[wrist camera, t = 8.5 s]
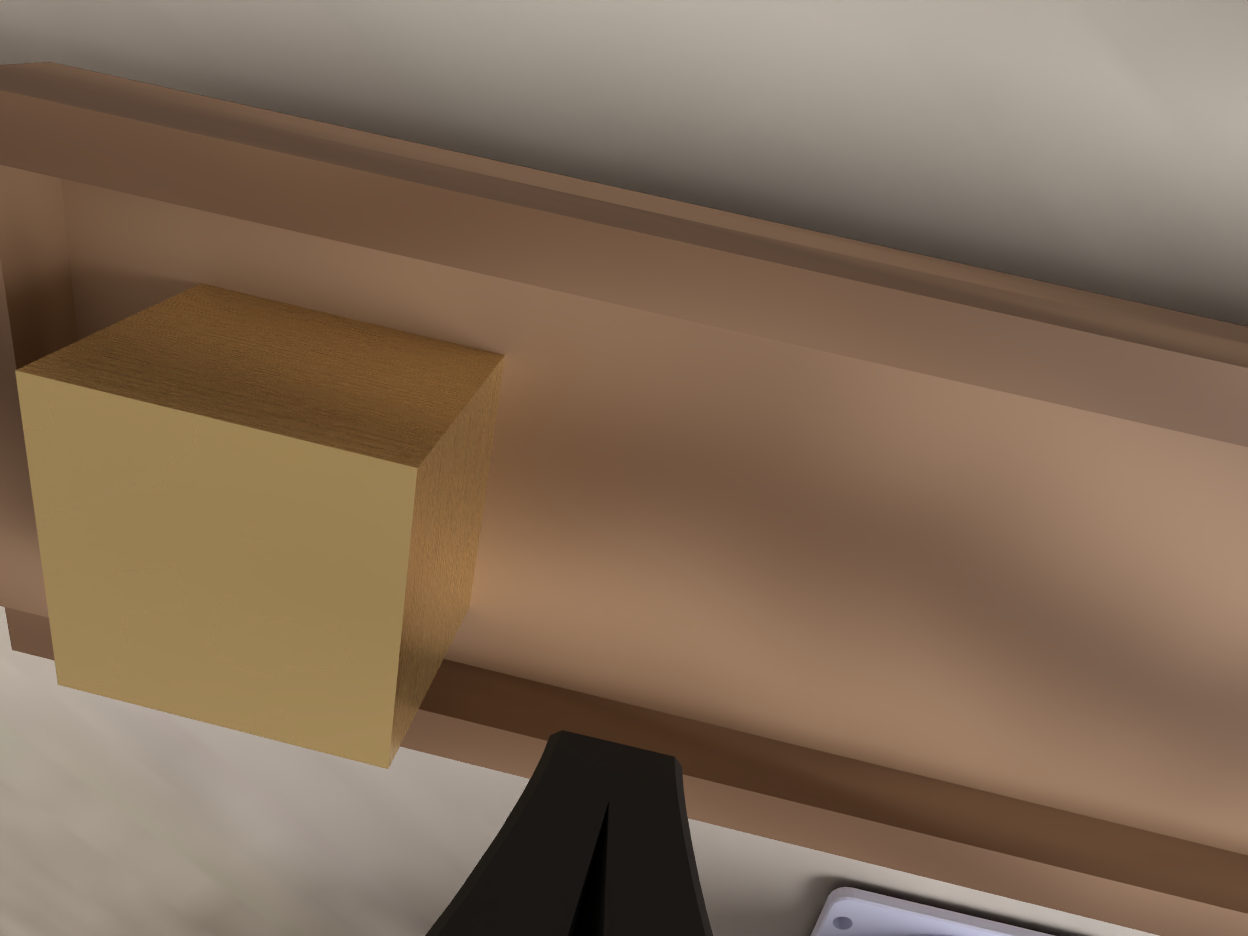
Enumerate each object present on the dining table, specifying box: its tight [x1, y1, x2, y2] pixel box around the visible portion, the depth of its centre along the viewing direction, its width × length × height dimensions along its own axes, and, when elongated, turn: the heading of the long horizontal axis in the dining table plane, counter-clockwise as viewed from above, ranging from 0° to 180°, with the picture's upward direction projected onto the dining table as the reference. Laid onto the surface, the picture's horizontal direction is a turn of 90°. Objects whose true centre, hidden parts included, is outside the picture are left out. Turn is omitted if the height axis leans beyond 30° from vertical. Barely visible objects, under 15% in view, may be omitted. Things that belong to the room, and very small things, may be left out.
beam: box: [0, 62, 1248, 936], centre depth 15 cm, size 10×28×3 cm, turn 79°
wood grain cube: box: [15, 283, 505, 769], centre depth 14 cm, size 5×5×4 cm
